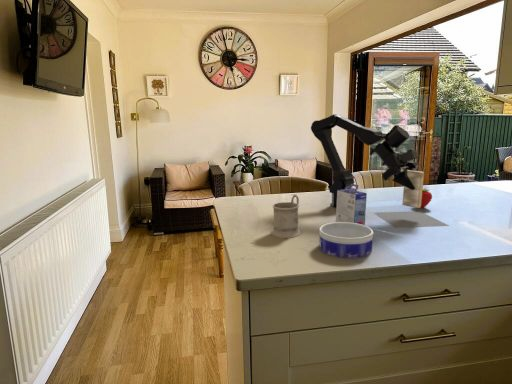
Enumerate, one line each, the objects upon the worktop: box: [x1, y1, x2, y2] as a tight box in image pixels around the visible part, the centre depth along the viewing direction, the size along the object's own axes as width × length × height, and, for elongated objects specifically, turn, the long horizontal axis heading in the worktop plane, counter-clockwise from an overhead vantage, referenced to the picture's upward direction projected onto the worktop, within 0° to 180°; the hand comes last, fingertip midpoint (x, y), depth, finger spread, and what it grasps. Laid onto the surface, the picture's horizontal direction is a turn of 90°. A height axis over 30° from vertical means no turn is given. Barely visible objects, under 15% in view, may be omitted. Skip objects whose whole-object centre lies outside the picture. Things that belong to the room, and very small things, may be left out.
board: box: [401, 170, 425, 209], centre depth 131 cm, size 6×2×13 cm, turn 43°
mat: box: [373, 210, 450, 229], centre depth 133 cm, size 19×20×1 cm
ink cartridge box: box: [335, 183, 368, 226], centre depth 127 cm, size 10×6×14 cm, turn 27°
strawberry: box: [419, 188, 433, 209], centre depth 147 cm, size 6×8×10 cm
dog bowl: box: [318, 221, 374, 259], centre depth 105 cm, size 15×15×6 cm
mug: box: [270, 193, 302, 239], centre depth 121 cm, size 14×10×12 cm
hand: (415, 188), depth 130 cm, fingers closed on board, 2 cm apart
